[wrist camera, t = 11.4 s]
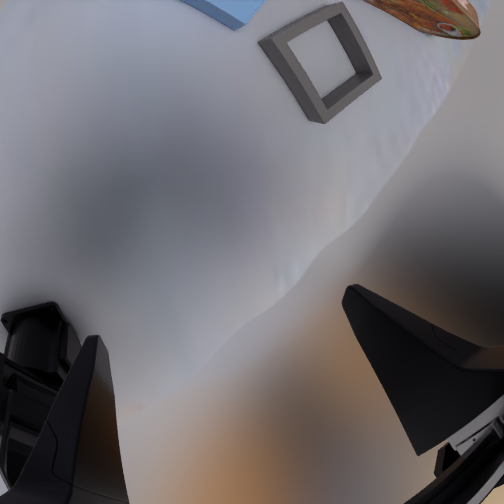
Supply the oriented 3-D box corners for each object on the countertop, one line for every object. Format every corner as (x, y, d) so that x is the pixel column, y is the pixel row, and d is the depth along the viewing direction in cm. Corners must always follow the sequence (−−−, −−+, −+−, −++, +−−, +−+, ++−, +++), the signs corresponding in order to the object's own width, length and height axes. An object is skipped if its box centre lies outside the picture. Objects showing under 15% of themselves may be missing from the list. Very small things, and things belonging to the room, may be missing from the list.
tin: (332, -13, 15) (412, -29, 8) (332, -38, 13) (407, -58, 6) (429, 39, 20) (491, 47, 14) (429, 18, 18) (490, 23, 12)
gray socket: (309, 120, 21) (324, 124, 19) (257, 42, 16) (271, 38, 14) (365, 77, 20) (381, 78, 19) (326, 5, 15) (342, 1, 14)
